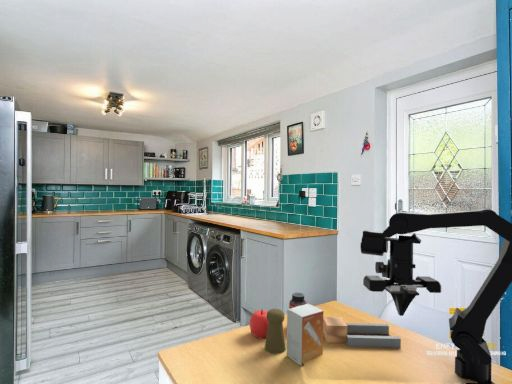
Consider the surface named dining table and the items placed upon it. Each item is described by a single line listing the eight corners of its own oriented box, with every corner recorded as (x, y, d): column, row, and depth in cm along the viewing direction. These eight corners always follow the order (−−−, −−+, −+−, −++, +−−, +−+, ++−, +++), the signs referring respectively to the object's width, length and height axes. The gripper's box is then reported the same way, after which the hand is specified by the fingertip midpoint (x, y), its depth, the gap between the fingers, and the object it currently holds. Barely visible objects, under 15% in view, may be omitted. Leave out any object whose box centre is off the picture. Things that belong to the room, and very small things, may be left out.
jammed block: (341, 333, 93) (342, 317, 93) (347, 342, 87) (347, 325, 87) (322, 332, 93) (322, 316, 93) (326, 342, 87) (326, 325, 87)
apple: (244, 335, 93) (244, 310, 93) (259, 326, 99) (259, 302, 99) (264, 343, 88) (264, 317, 88) (279, 333, 94) (279, 308, 94)
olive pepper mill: (261, 350, 84) (261, 311, 84) (270, 341, 89) (270, 304, 89) (280, 356, 81) (281, 316, 81) (288, 346, 86) (289, 308, 87)
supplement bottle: (285, 326, 99) (285, 292, 99) (300, 322, 102) (300, 290, 102) (295, 333, 94) (295, 298, 94) (310, 330, 97) (310, 295, 97)
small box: (301, 367, 76) (302, 316, 76) (285, 355, 81) (286, 308, 81) (323, 357, 81) (324, 310, 81) (307, 347, 86) (308, 302, 86)
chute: (386, 334, 94) (386, 323, 94) (400, 351, 84) (400, 338, 84) (339, 333, 94) (339, 322, 94) (347, 349, 85) (348, 337, 85)
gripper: (420, 252, 88) (419, 304, 88) (357, 251, 89) (356, 303, 89) (442, 261, 77) (442, 321, 77) (370, 260, 77) (370, 319, 77)
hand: (400, 315), depth 80 cm, fingers closed
